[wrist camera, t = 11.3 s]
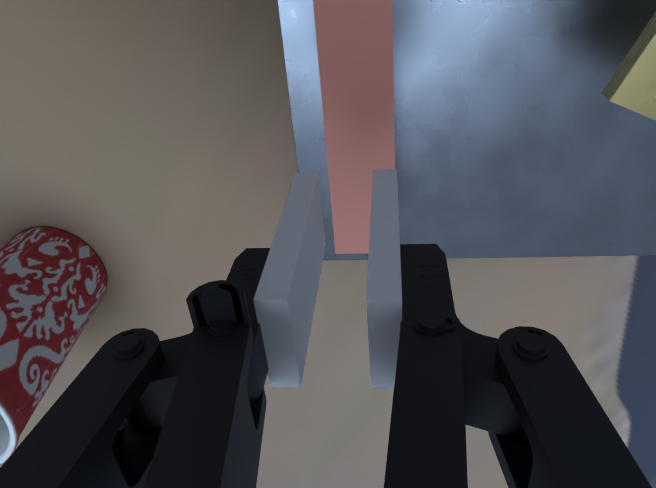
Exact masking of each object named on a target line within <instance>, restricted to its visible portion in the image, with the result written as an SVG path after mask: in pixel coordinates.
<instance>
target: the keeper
mask: <svg viewBox="0 0 656 488" xmlns="http://www.w3.org/2000/svg"><path fill="white" fill-rule="evenodd" d="M601 94H602V95H603V96H604V97H606V98H607V99H608V100H609V101H610V102H613V103H615V104H618V105H620V106H622V107H625V108H627V109H629V110H632V111H634V112H636V113H639V114H641V115H644V116H646V117H648V118H651V119H653V120H655V121H656V12H655V14H654V15H653V17H652V18H651V20H650V21H649V23H648V24H647V26H646V27H645V29H644V30H643V31H642V33H641V34H640V36H639V37H638V39H637V40H636V42H635V43H634V45H633V46H632V48H631V49H630V51H629V52H628V54H627V55H626V57H625V58H624V60H623V61H622V63H621V64H620V66H619V67H618V69H617V70H616V72H615V73H614V75H613V76H612V78H611V79H610V81H609V82H608V84H607V85H606V87H605V88H604V90H603V91H602V93H601Z"/></svg>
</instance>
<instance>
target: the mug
mask: <svg viewBox="0 0 656 488" xmlns="http://www.w3.org/2000/svg"><path fill="white" fill-rule="evenodd" d="M106 286H107V276H106V272H105V269H104V266H103V264H102V262H101V260H100V259H99V257H98V256H97V254H96V253H95V252H94V251H93V250H92V249H91V248H90V247H89V246H88V245H87V244H86V243H85V242H83V241H82V240H81V239H79V238H77V237H76V236H74V235H72V234H70V233H68V232H65V231H62V230H59V229H56V228H50V227H34V228H30V229H26V230H24V231H22V232H20V233H18V234H17V235H15V236H14V237H12V238H11V239H10V240H8V241H7V242H6V243H5V244H4V245H2V246H1V247H0V464H2V463H3V462H5V461H6V460H7V459H8V458H9V457H10V456H11V455H12V454H13V452H14V451H15V449H16V447H17V444H18V440H19V436H20V434H21V433H22V431H23V429H24V428H25V426H26V424H27V422H28V421H29V419H30V417H31V416H32V414H33V412H34V411H35V409H36V407H37V406H38V404H39V402H40V401H41V399H42V397H43V396H44V394H45V393H46V391H47V389H48V388H49V386H50V384H51V383H52V381H53V379H54V377H55V375H56V374H57V372H58V371H59V369H60V367H61V366H62V364H63V362H64V361H65V359H66V357H67V356H68V354H69V352H70V351H71V349H72V347H73V346H74V344H75V342H76V341H77V339H78V337H79V336H80V334H81V332H82V331H83V329H84V327H85V326H86V324H87V322H88V321H89V319H90V317H91V316H92V314H93V313H94V311H95V309H96V307H97V306H98V304H99V303H100V301H101V299H102V297H103V295H104V293H105V290H106Z"/></svg>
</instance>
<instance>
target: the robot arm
mask: <svg viewBox="0 0 656 488" xmlns="http://www.w3.org/2000/svg"><path fill="white" fill-rule="evenodd" d="M325 245H326V242H325V232H324V222H323V211H322V201H321V191H320V181H319V172H298V173H295V175H294V178H293V181H292V184H291V187H290V190H289V193H288V196H287V199H286V202H285V205H284V208H283V211H282V214H281V218H280V221H279V224H278V227H277V230H276V233H275V236H274V239H273V242H272V245H271V248H246V249H245V250H244V251H243V252H242V253H241V254H240V255H239V256H238V257H237V258H235V260H234V263H233V265H232V268H231V270H230V272H229V275H228V277H227V281H225V280H219V281H213V282H209V283H206V284H204V285H201V286H199V287H198V288H196V289H195V290H193V291H192V292H191V293H190V294H189V296H188V297H187V299H186V301H187V305H188V308H189V312H190V315H191V319H192V323H193V326H194V329H193V332H192V333H190V334H187V335H184V336H181V337H177V338H172V339H168V340H164V341H159V338H158V336H157V335H156V334H155V333H154V332H153V331H152V330H148V329H145V328H140V329H131V330H127V331H124V332H121V333H119V334H117V335H115V336H113V337H112V338H111V339H109V340H108V341H107V342H106V343H105V344H104V345H103V346H102V347H101V348H100V350H99V351H98V352H97V353H96V354H95V356H94V357H93V358H92V359H91V360H90V362H89V363H88V364H87V365H86V366H85V368H84V369H83V370H82V371H81V372H80V374H79V375H78V376H77V377H76V378H75V379H74V381H73V382H72V383H71V384H70V385H69V387H68V388H67V389H66V390H65V391H64V393H63V394H62V395H61V396H60V397H59V399H58V400H57V401H56V402H55V403H54V405H53V406H52V407H51V408H50V409H49V411H48V412H47V413H46V414H45V415H44V416H43V418H42V419H41V420H40V421H39V422H38V424H37V425H36V426H35V427H34V428H33V430H32V431H31V432H30V433H29V434H28V436H27V437H26V438H25V439H24V440H23V442H22V443H21V444H20V445H19V446H18V448H17V449H16V450H15V451H14V452H13V454H12V455H11V456H10V457H9V458H8V459H7V461H6V462H5V463H4V464H3V465H2V467H1V468H0V488H256V482H257V474H258V466H259V458H260V450H261V442H262V434H263V426H264V418H265V410H266V396H265V391H264V384H265V380H266V376H267V372H268V378H269V383H270V387H301V382H302V376H303V371H304V365H305V359H306V353H307V348H308V342H309V336H310V330H311V325H312V319H313V313H314V308H315V302H316V296H317V290H318V285H319V279H320V273H321V267H322V262H323V256H324V250H325ZM366 301H367V319H368V338H369V356H370V375H371V388H394V394H393V404H392V414H391V424H390V433H389V443H388V453H387V463H386V472H385V482H384V488H468V483H467V457H466V430H465V424H466V425H469V426H473V427H476V428H479V429H483V430H486V431H488V433H489V437H490V440H491V442H492V445H493V448H494V450H495V453H496V456H497V458H498V461H499V464H500V466H501V469H502V472H503V474H504V477H505V480H506V482H507V485H508V487H509V488H652V487H651V486H650V484H649V482H648V481H647V479H646V478H645V476H644V474H643V473H642V471H641V469H640V468H639V466H638V465H637V463H636V462H635V460H634V458H633V457H632V455H631V453H630V452H629V450H628V449H627V447H626V445H625V444H624V442H623V441H622V439H621V437H620V436H619V434H618V433H617V431H616V429H615V428H614V426H613V424H612V423H611V421H610V420H609V418H608V416H607V415H606V413H605V412H604V410H603V408H602V407H601V405H600V404H599V402H598V400H597V399H596V397H595V396H594V394H593V392H592V391H591V389H590V388H589V386H588V384H587V383H586V381H585V379H584V378H583V376H582V375H581V373H580V371H579V370H578V368H577V367H576V365H575V363H574V362H573V360H572V359H571V357H570V355H569V354H568V352H567V351H566V349H565V347H564V346H563V344H562V343H561V342H560V341H559V340H558V339H557V338H556V337H555V336H554V335H552V334H550V333H548V332H547V331H545V330H542V329H538V328H534V327H521V326H519V327H515V328H511V329H508V330H507V331H505V332H504V333H502V334H501V335H500V337H499V339H497V338H493V337H489V336H484V335H481V334H478V333H475V332H473V331H471V330H469V329H468V328H466V327H465V326H464V325H462V324H461V322H460V321H459V319H458V318H457V316H456V313H455V309H454V303H453V297H452V291H451V285H450V279H449V272H448V268H447V260H446V254H445V253H444V252H443V251H442V250H441V249H440V247H439V246H438V245H437V244H400V235H399V209H398V184H397V169H382V170H373V175H372V196H371V216H370V236H369V257H368V277H367V297H366Z"/></svg>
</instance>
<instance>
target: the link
mask: <svg viewBox="0 0 656 488" xmlns="http://www.w3.org/2000/svg"><path fill="white" fill-rule="evenodd" d="M313 8H314V19H315V30H316V41H317V52H318V64H319V75H320V86H321V97H322V109H323V120H324V131H325V142H326V154H327V165H328V176H329V187H330V198H331V210H332V221H333V232H334V243H335V254H359V253H369V236H370V216H371V196H372V175H373V170H382V169H395V140H394V77H393V15H392V0H313Z"/></svg>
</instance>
